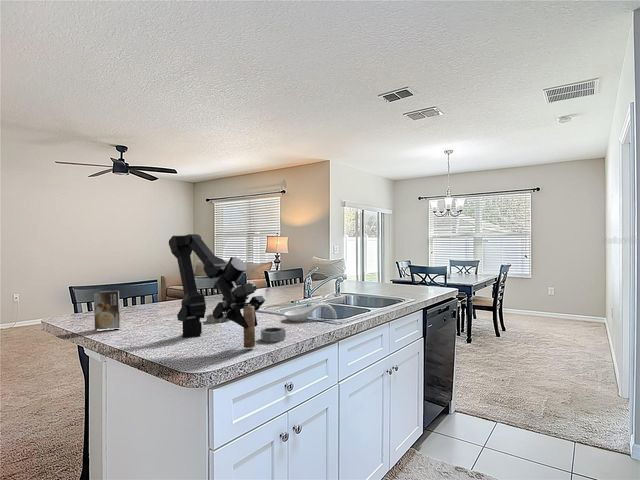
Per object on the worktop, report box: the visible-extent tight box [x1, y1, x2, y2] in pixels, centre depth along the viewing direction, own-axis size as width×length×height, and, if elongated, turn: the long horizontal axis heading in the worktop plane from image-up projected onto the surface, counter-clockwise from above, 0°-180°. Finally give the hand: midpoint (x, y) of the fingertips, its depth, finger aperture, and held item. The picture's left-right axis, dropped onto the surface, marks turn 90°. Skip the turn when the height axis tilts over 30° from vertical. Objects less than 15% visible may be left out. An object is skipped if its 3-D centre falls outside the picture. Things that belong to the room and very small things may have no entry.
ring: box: [260, 326, 287, 343], centre depth 137 cm, size 8×8×3 cm
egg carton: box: [205, 312, 231, 324], centre depth 172 cm, size 11×8×4 cm
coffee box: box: [93, 289, 121, 331], centre depth 158 cm, size 9×6×16 cm
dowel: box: [242, 306, 256, 349], centre depth 124 cm, size 4×4×13 cm
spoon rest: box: [283, 302, 338, 322], centre depth 171 cm, size 24×12×7 cm, turn 98°
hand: (251, 326), depth 124 cm, fingers closed on dowel, 4 cm apart
